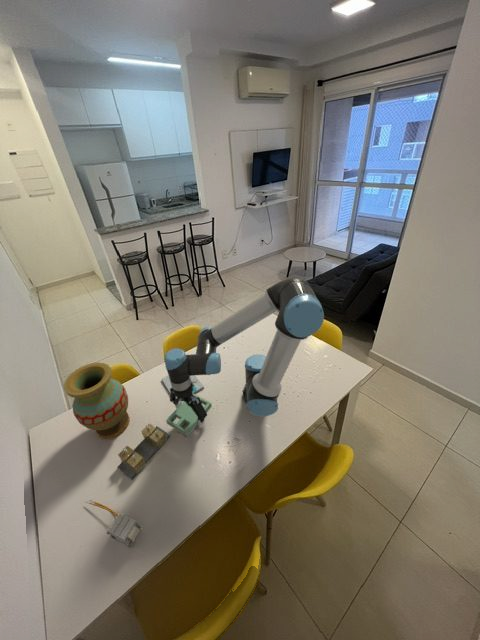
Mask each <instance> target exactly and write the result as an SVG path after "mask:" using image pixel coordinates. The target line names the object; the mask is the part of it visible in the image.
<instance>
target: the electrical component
mask: <svg viewBox="0 0 480 640" xmlns="http://www.w3.org/2000/svg"><path fill="white" fill-rule="evenodd" d="M85 503H86V504H89V505H91V506H95V507H97V508H101V509H104V510H106V511H108V512H110V513H112V514H114V515H115V518H116V519H115V520H114V521H113V523H112V525H111V526H110V527H109V528H108V529H107V531H106V535H110V538H111V539H114V538H115V539H116V540H118V541H120V542H122V543H124V544H125V545H128V546H127V547H129V548H132V547H133V546H134V544H135V541H136V539H137V537H138V535H139V533H140V531H142V526H141V525H140V524H139V523H138V522H137V520H135V519H134V518H131V517H129V516H128V515H124V514H122V513H119V514H118V513H117V512H116V511H114V510H112V509H111V508H110V507H108V506H105V505H103V504H101V503H99V502H96V501H94V500H92V499H89V501H85Z"/></svg>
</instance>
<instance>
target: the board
mask: <svg viewBox="0 0 480 640" xmlns="http://www.w3.org/2000/svg"><path fill="white" fill-rule="evenodd" d="M192 394H193V393H192ZM193 396H194V397H195V398H197V397H199V398H200V402H201V404H202V405H204V406H203V407H204V409H205V411H206V413H208V412H209V411H210V409H211V408H212V405H213V404H212V402H210V401H208V400H206V399H205V398H203V397H200V396H199V395H197V394H196V393H195V394H193ZM190 402H191V401H190ZM190 402H189V403H190ZM181 403H182V404H181V405H180V406H179V407H178V408H177V409H176V408H175V410H174V411H172V413H171V414H170V415H169V416H168V417H167V418H166V420H165V421H166V424H167V425H169V426H170V427H171V428H174V429H175V430H177V431H178V433H179V432H181V433H183V434H184V435H186V437H188V436H189V435H190V434H191V433H192V432H193V430H194V429H195V428H196V426H197V425H198V421H197V415H196V414H195V412H194V411H193V410H192V408H191V407H190V406H188V405H187V404H186V402H184V401H182V402H181ZM176 419H177V420H178V421H177V422H176V423H175V422H174V421H175V420H176ZM185 423H187V424H188V427H187V428H186V429H183V428H182V426H183V425H184V424H185ZM184 435H183V436H184Z"/></svg>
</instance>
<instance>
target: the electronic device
mask: <svg viewBox="0 0 480 640" xmlns="http://www.w3.org/2000/svg"><path fill="white" fill-rule="evenodd" d="M190 377H191V381H192V385H193V392H192V393H193V394H195V395H196V394H197V393H198V392H199V391H202V390H203V389H205V386H204V385H203V384H202V382H201V381H200V379H199V378H197V375H193V376H190ZM161 381H162V383H163V384H164V386H165V388H166V389H167V391H168V392H169V394H171V392H170V388H171V387H172V386H171V382H170V378H169V375H167V376H165V377H162V378H161ZM176 398H177V397H176ZM179 401H181V402H183V401H182V400H181V399H180V400H179Z"/></svg>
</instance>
